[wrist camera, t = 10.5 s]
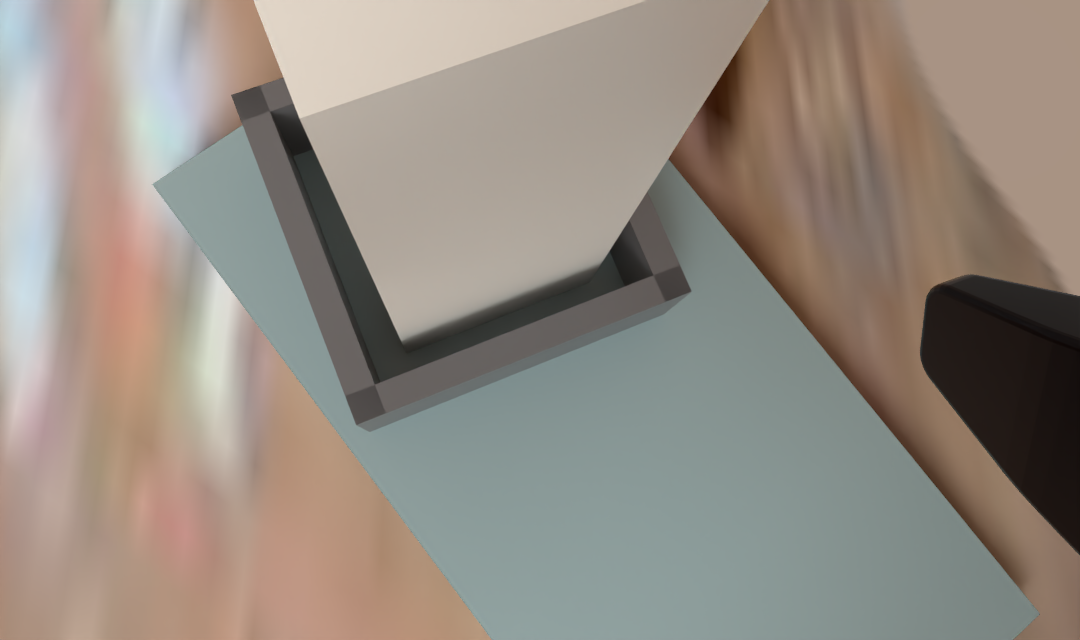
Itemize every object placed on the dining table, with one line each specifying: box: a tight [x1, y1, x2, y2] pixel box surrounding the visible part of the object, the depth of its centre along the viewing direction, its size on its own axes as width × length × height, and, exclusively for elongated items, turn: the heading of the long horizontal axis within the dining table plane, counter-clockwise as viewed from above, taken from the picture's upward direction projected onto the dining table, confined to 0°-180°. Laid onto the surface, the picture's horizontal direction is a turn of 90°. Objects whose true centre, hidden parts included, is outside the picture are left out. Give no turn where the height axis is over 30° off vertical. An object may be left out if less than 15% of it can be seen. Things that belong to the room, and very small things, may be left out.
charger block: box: [254, 0, 769, 353], centre depth 14 cm, size 4×4×14 cm
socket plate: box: [153, 78, 1040, 640], centre depth 19 cm, size 20×10×4 cm, turn 38°
